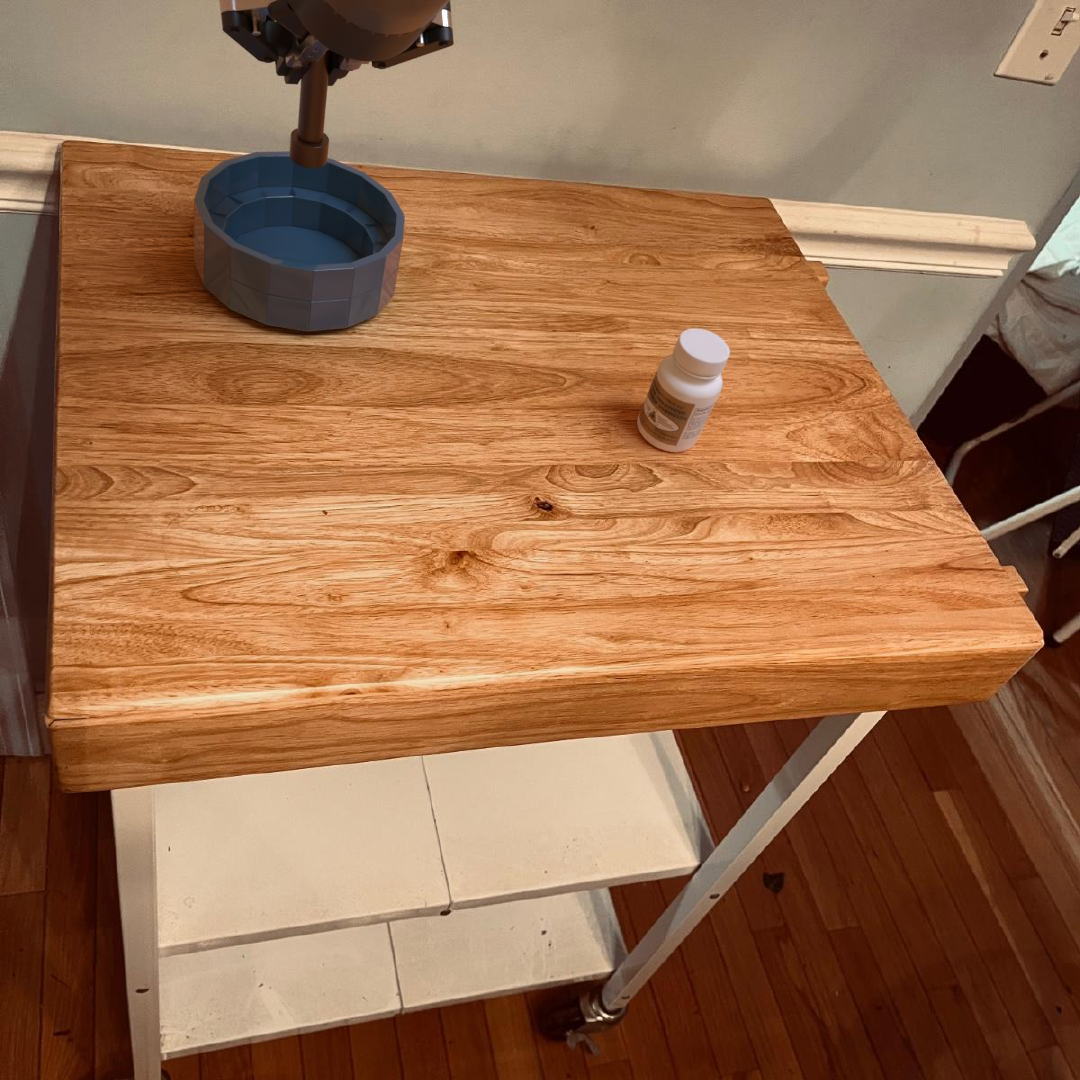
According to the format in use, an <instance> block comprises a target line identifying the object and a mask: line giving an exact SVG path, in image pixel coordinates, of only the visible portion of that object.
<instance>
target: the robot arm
mask: <svg viewBox="0 0 1080 1080" xmlns="http://www.w3.org/2000/svg"><path fill="white" fill-rule="evenodd" d="M218 2H219V10H220V18H221V26H222V32H223V33H224V34H226V35H227V36H228V37H229V38H230V39H232V40H233V41H234V42H236V43H237V44H238V45H239V46H240V47H242V48H243V49H244V50H245V51H246V52H248V53H249V54H250V55H251V56H252V57H253V58H254V59H256V60H257V61H258V62H261V63H265V64H272V63H274V65H275V74H276V76H277V77H283V79H284V83H285V85H299V83H300V82H301V77H302V76H303V75H304V74H305V72H306V70H307V69H308V67H309V66H308V63H309V62H310V61H315V62H318V61H319V60H320V59H321V57H322V56H323V55H324V54H325V52H326V51H327V50H331V55H330V66H329V77H328V87H333V86H334V85H335V84H336V82H337V81H338V80H342V79H344V78H346V77H347V75H349V73H350V72H353V71H357V70H359V69H360V68H361V67H362V65H369V64H370V63H371V67H372V68H374V69H379V70H386V69H389V68H391V67H394V66H397V65H400V64H403V63H406V62H409V61H412V60H415V59H418V58H421V57H424V56H426V55H430V54H432V53H435V52H438V51H441V50H444V49H447V48H449V47H452V46H454V44H455V43H454V30H453V19H452V18H453V17H452V7H451V5H452V4H451V0H218Z"/></svg>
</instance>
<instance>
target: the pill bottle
mask: <svg viewBox="0 0 1080 1080" xmlns="http://www.w3.org/2000/svg"><path fill="white" fill-rule="evenodd" d="M730 354H731V351H730V347H729V345H728V343H727V342H726V341H725V340H724V339H723V338H722V337H721V336H720V335H718V334H716V333H715V332H713V331H710V330H707V329H704V328H699V327H697V328H694V327H693V328H687V329H685V330H683V331H682V332H681V333H680V335H679V336H678V338H677V340H676V343H675V345H674V347H673V351H672V353H671V354H668V355H667V356H665V357H664V358H663V359H662V360H661V361H660V364H659V365H658V367H657V369H656V372H655V374H654V377H653V379H652V382H651V385H650V386H649V389H648V391H647V394H646V397H645V399H644V400H643V403H642V407H641V409H640V411H639V413H638V415H637V420H636V425H637V429H638V431H639V433H640V434H641V436H642V437H643V438H644V440H646V442H648V444H651V445H652V446H653V447H655V448H657V449H659V450H662V451H665V452H668V453H682V452H686V451H688V450H690V449H692V448H693V447H694V446H695V445H696V443H697V441H698V440H699V438H700V435H701V434H702V431H703V430H704V428H705V425H706V423H707V421H708V419H709V417H710V416H711V413H712V411H713V409H714V407H715V405H716V403H717V400H718V399H719V396H720V394H721V391H722V389H723V377H722V373H723V371H724V370H725V367H726V365H727V363H728V361H729V358H730Z"/></svg>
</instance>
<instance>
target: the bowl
mask: <svg viewBox="0 0 1080 1080" xmlns="http://www.w3.org/2000/svg"><path fill="white" fill-rule="evenodd" d="M289 152H290V150H289V151H283V150H282V151H253V152H250V153H246V154H242V155H239V156H234V157H232V158H227V159H224V160H222V161H221V162H219V163H218V164H217V165H216V166H214V167H213V168H212V169H210V170H209V171H207V172H206V173H205V174H203V175H202V176H201V177H200V180H199V182H198V186H197V189H196V192H195V196H194V198H193V209H194V210H193V264H194V265H195V268H196V270H197V274H198V276H199V278H200V281H201V283H202V286H203V287H204V288H205V289H206V290H207V291H209V293H210V294H212V295H213V296H214V297H215V298H216V299H217V300H219V301H220V302H221V303H222V304H223V305H224V306H225V307H227V308H228V309H229V310H230V311H233V312H235V313H237V314H239V315H242V316H244V317H246V318H249V319H251V320H254V321H256V322H258V323H261V324H263V325H265V326H270V327H277V328H282V329H289V330H295V331H296V330H297V331H302V332H315V331H318V332H319V331H327V330H340V329H346V328H350V327H353V326H355V325H357V324H360V323H362V322H364V321H366V320H369V319H371V318H374V317H377V316H378V314H379V313H380V312H381V311H382V310H383V309H384V307H385V306H386V305H387V304H388V303H389V302H390V300H391V299H392V298H393V297H394V296H395V291H396V290H395V289H396V284H397V278H398V272H399V266H400V261H401V253H402V248H403V241H404V235H405V222H406V221H405V220H406V215H405V213H404V212H403V210H402V208H401V207H400V204H399V203H398V201H397V200H396V198H395V195H394V194H393V193H392V192H391V191H390V190H388V189H387V188H386V187H384V185H382V184H380V182H378V181H377V180H375V179H374V178H373V177H371V176H370V175H369V174H367V173H366V172H364V171H362V170H360V169H357V168H354V167H353V166H350V165H347V164H345V163H343V162H341V161H338V160H336V159H334V158H330V157H328V159H327V163H326V165H324V166H323V167H320V168H305V167H301V166H299V165H297V164H295V163H294V162H293V161H292V160H291V159H290V157H289Z"/></svg>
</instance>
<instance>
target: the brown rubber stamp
mask: <svg viewBox="0 0 1080 1080" xmlns="http://www.w3.org/2000/svg"><path fill="white" fill-rule="evenodd" d="M330 55H331V50H327V51H326V52H325V54H324V55H323V56H322V57H321V59H320V60H319V61H318V62H315V61H310V62H309V63H308V66H309V67H308V69H307V70H306V72H305V74H304V75H303V76H302V77H301V80H300V91H299V102H298V103H299V105H298V106H299V107H298V119H297V128H294V129H293V130H292V131H291V132H290V139H289V151H290V152H289V157H290V159H291V160H292V161H293V162H294V163H295V164H297V165H299V166H301V167H305V168H320V167H323V166H324V165H326V163H327V159H328V158H329V147H330V138H329V136H328V135H327V134H326V133H325V131H324V130H325V122H326V121H325V119H326V109H327V99H328V98H327V97H328V88H329V86H328V77H329V66H330Z"/></svg>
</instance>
